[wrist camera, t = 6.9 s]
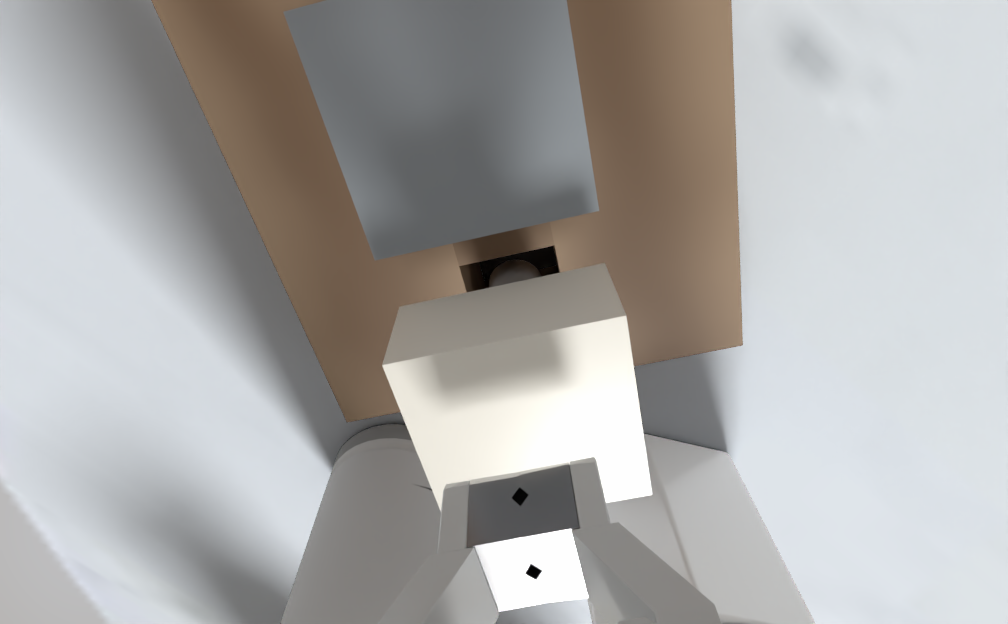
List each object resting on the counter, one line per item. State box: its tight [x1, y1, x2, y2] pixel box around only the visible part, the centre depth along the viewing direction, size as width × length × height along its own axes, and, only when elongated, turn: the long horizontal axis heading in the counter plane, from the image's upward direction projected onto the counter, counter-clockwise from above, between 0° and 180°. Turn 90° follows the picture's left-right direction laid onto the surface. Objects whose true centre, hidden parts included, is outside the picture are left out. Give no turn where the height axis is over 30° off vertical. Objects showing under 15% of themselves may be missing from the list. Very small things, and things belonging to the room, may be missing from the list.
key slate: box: [283, 0, 599, 261], centre depth 15 cm, size 5×5×8 cm
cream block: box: [382, 260, 652, 511], centre depth 16 cm, size 5×5×8 cm
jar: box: [587, 434, 816, 624], centre depth 25 cm, size 9×8×12 cm
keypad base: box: [151, 0, 743, 422], centre depth 17 cm, size 14×20×5 cm
